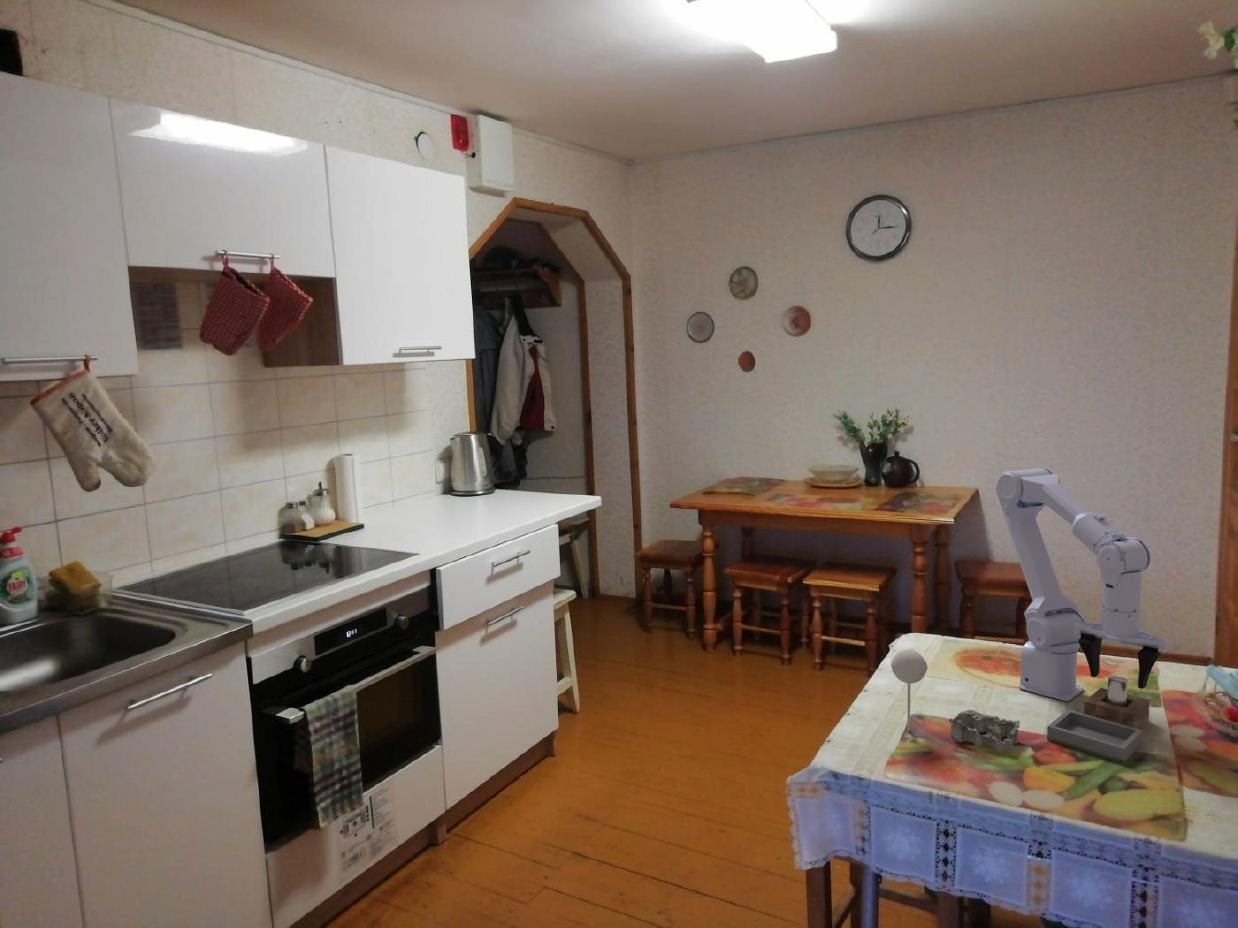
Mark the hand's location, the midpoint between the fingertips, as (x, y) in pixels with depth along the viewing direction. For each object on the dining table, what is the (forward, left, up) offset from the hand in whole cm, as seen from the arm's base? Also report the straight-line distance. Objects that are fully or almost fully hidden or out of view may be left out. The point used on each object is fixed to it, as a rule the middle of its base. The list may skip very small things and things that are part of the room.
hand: (1118, 680), depth 152 cm
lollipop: (-25, -27, -8) cm, 38 cm away
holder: (0, 0, -8) cm, 8 cm away
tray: (0, -10, -8) cm, 13 cm away
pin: (0, 0, -8) cm, 8 cm away
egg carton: (-14, -22, -8) cm, 27 cm away
